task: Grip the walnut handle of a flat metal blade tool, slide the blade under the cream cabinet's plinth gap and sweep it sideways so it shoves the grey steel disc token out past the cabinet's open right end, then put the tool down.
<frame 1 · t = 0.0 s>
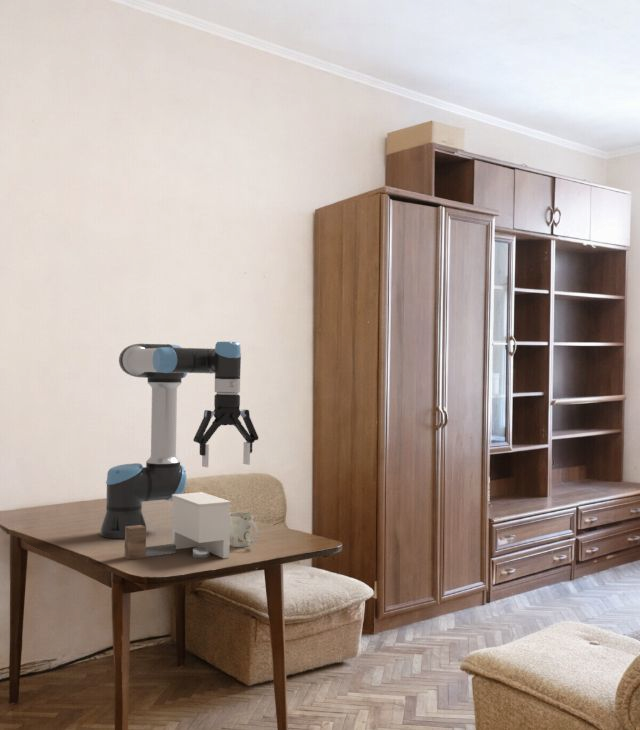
hand: (226, 465, 232), 28 cm above the table, fingers open, 13 cm apart
cabinet: (199, 552, 241), on the table
mug: (244, 546, 251), on the table
blade tool: (135, 557, 234), on the table
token: (201, 556, 237), on the table
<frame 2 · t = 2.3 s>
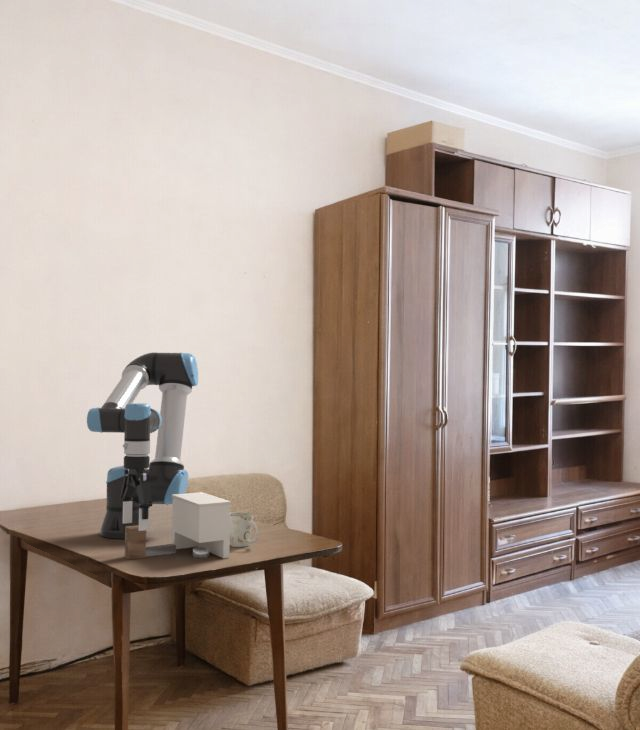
hand: (135, 526, 234), 9 cm above the table, fingers open, 13 cm apart
nothing on the table moved.
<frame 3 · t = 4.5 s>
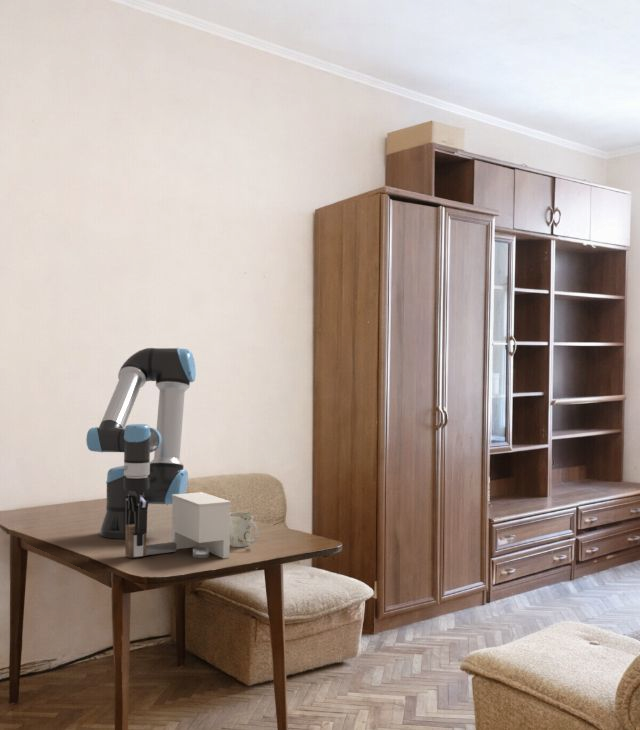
hand: (135, 554, 234), 1 cm above the table, fingers closed on blade tool, 4 cm apart
blade tool: (135, 555, 234), on the table, touching gripper
everything else where it was.
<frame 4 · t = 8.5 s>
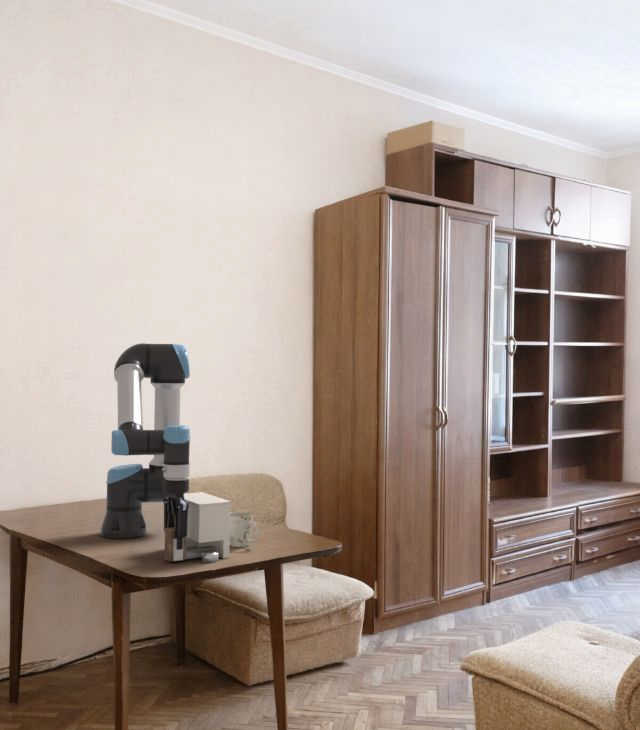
hand: (174, 558, 229), 1 cm above the table, fingers closed on blade tool, 4 cm apart
blade tool: (175, 559, 230), point 1 cm above the table, touching gripper, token
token: (210, 560, 232), on the table, touching blade tool
everything else where it was.
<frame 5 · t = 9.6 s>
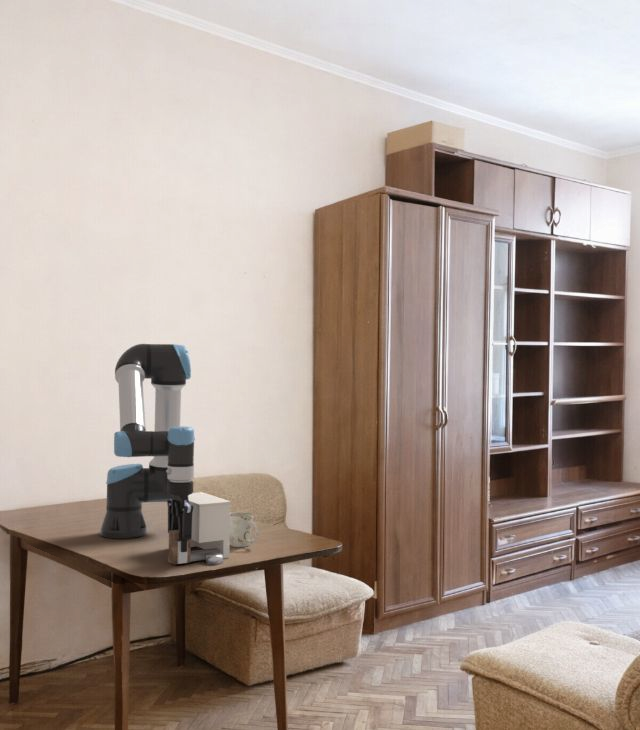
hand: (179, 561, 227), 1 cm above the table, fingers closed on blade tool, 4 cm apart
blade tool: (179, 562, 227), point 1 cm above the table, touching gripper
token: (214, 563, 229), on the table
everything else where it was.
when the fingers open (0 cm above the table, at t = 12.3 s): blade tool stays where it is, on the table.
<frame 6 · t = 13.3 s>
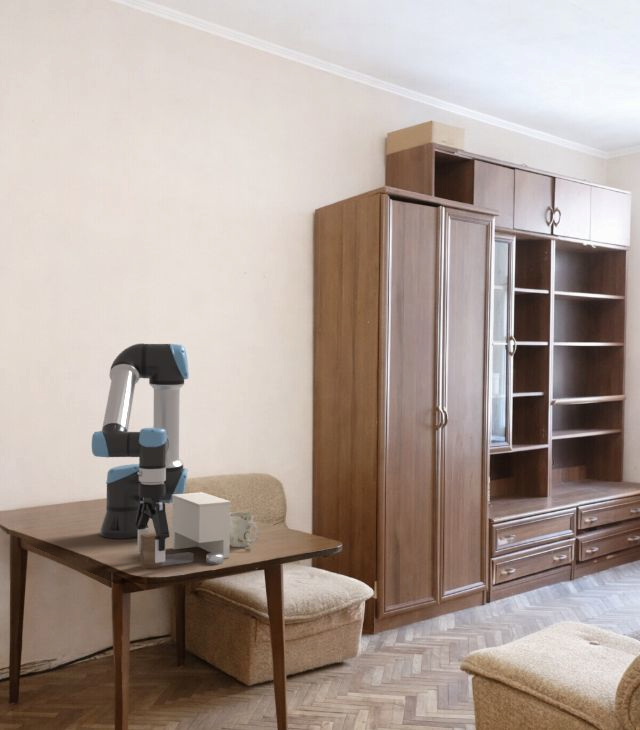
hand: (151, 556, 224), 3 cm above the table, fingers open, 13 cm apart
blade tool: (151, 566, 224), on the table
everything else where it was.
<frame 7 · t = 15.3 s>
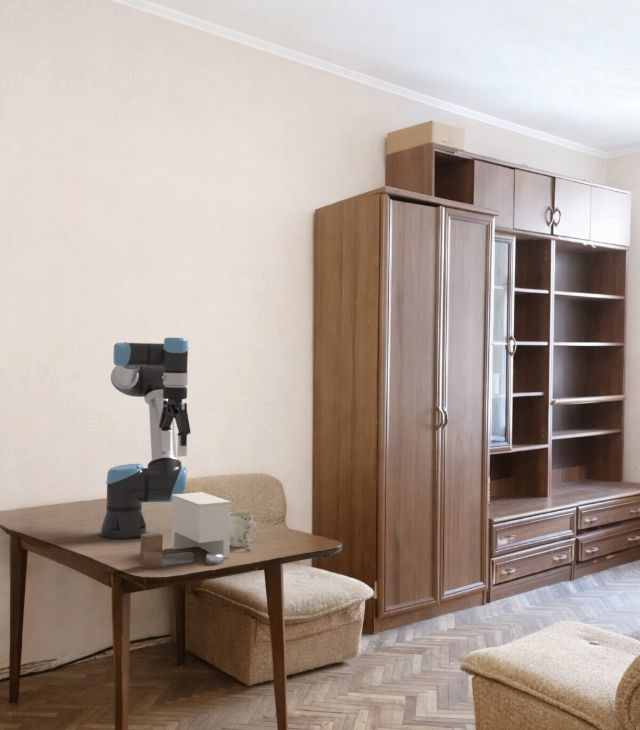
hand: (173, 453, 248), 30 cm above the table, fingers open, 13 cm apart
nothing on the table moved.
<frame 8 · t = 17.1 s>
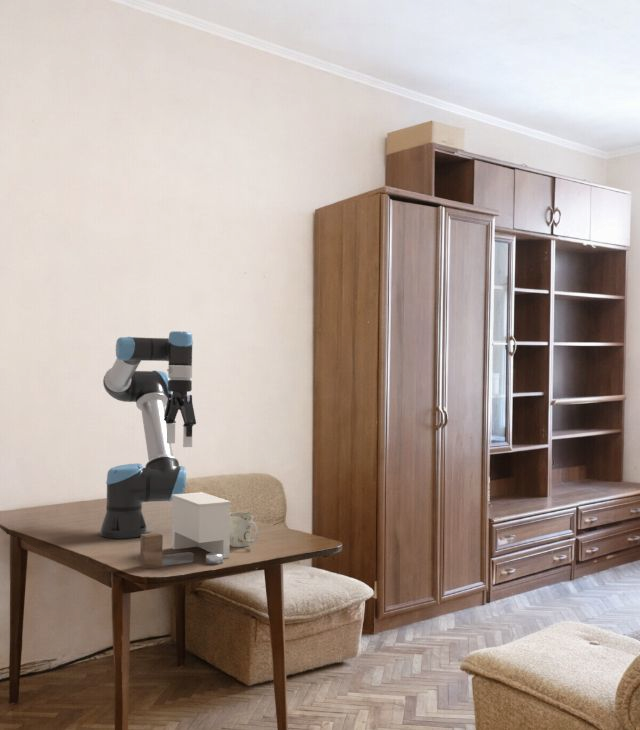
hand: (178, 445, 253), 32 cm above the table, fingers open, 13 cm apart
nothing on the table moved.
at the end: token inside the target area (2.8 cm from its centre), on the table; the gripper is holding nothing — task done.
